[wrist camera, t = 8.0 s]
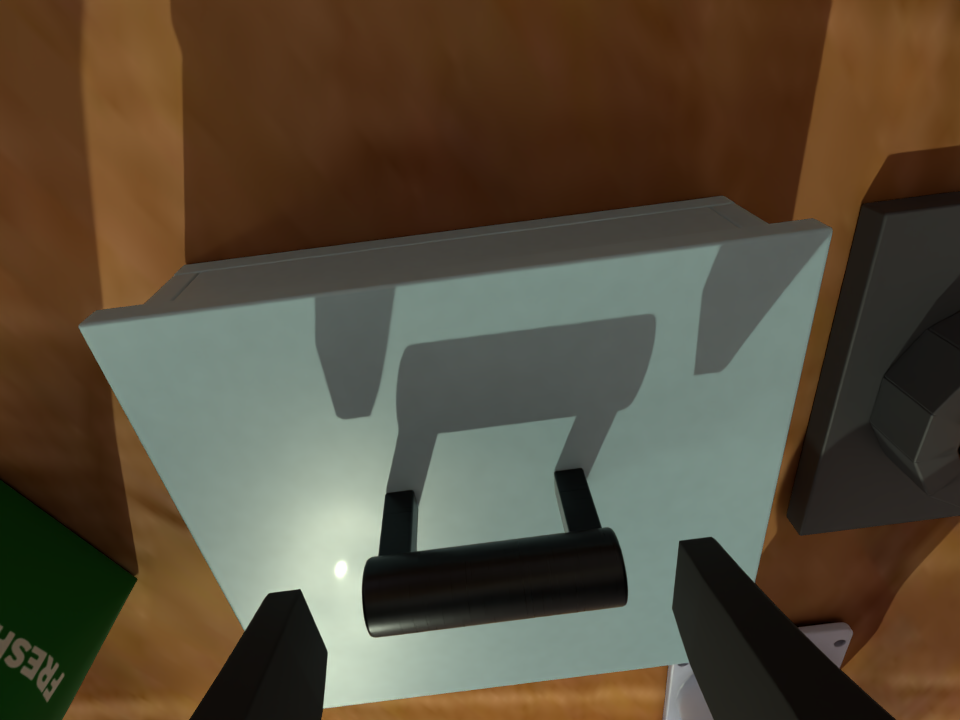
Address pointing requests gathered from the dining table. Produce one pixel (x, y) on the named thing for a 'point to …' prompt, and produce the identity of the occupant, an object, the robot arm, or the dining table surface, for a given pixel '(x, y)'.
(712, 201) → the box
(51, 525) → the milk carton
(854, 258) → the release block
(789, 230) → the freezer lid
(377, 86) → the dining table surface
